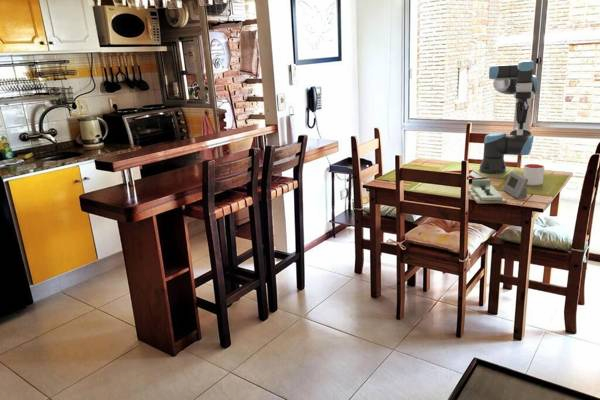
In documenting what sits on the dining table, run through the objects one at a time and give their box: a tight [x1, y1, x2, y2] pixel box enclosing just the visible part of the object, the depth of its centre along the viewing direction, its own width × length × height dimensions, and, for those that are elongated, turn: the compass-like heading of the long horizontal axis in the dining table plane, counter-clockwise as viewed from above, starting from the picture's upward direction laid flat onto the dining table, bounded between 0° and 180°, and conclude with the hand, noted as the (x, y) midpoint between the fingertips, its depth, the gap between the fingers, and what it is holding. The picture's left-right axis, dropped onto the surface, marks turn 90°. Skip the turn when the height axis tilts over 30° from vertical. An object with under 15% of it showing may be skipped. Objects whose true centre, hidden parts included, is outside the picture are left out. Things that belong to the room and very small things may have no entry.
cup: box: [522, 163, 545, 187], centre depth 250 cm, size 10×10×10 cm
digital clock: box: [502, 171, 528, 199], centre depth 234 cm, size 16×9×11 cm, turn 169°
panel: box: [470, 178, 504, 200], centre depth 234 cm, size 22×10×4 cm, turn 173°
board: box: [468, 183, 508, 204], centre depth 237 cm, size 29×14×4 cm, turn 173°
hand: (519, 134), depth 250 cm, fingers closed
